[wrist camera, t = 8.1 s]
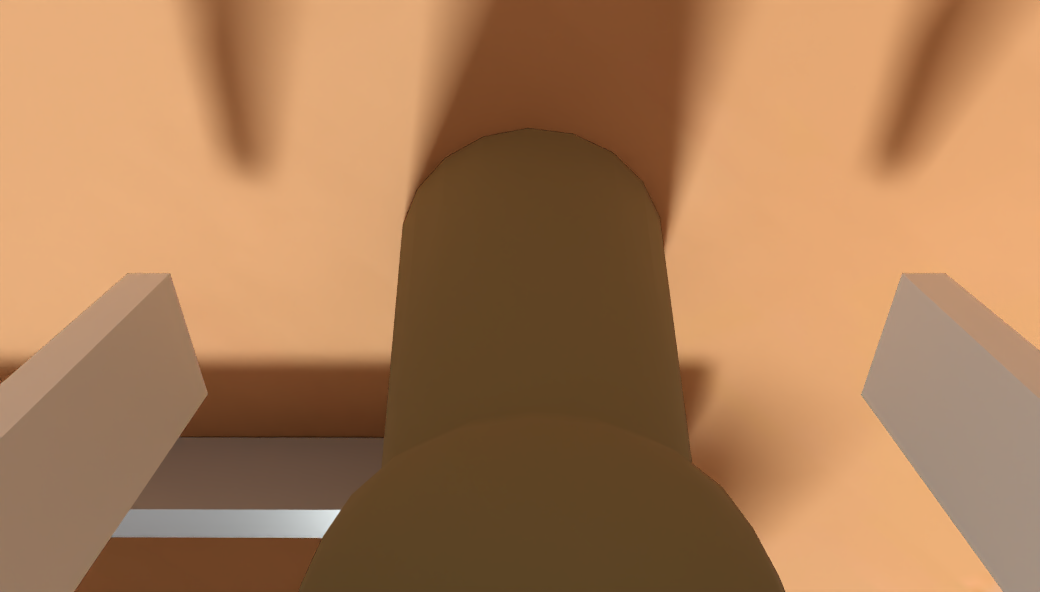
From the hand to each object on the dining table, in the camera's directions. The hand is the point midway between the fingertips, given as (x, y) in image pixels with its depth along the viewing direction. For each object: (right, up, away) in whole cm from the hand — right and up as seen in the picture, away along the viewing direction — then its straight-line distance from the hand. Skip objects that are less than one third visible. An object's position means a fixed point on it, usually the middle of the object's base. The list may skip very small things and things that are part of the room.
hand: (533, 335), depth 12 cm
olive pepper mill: (0, +2, +3) cm, 3 cm away
